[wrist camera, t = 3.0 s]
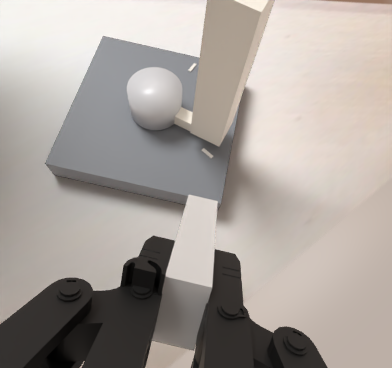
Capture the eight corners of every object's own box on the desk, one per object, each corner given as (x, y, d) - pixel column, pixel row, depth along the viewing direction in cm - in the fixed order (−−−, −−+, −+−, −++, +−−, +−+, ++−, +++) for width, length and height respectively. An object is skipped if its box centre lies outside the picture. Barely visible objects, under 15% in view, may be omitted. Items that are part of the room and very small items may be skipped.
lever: (120, 116, 24) (81, -51, 13) (146, 81, 26) (131, -95, 15) (212, 161, 23) (254, 24, 12) (234, 122, 25) (287, -31, 14)
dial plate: (54, 174, 24) (44, 162, 22) (107, 53, 29) (103, 34, 27) (216, 211, 24) (221, 203, 22) (241, 83, 29) (246, 67, 27)
